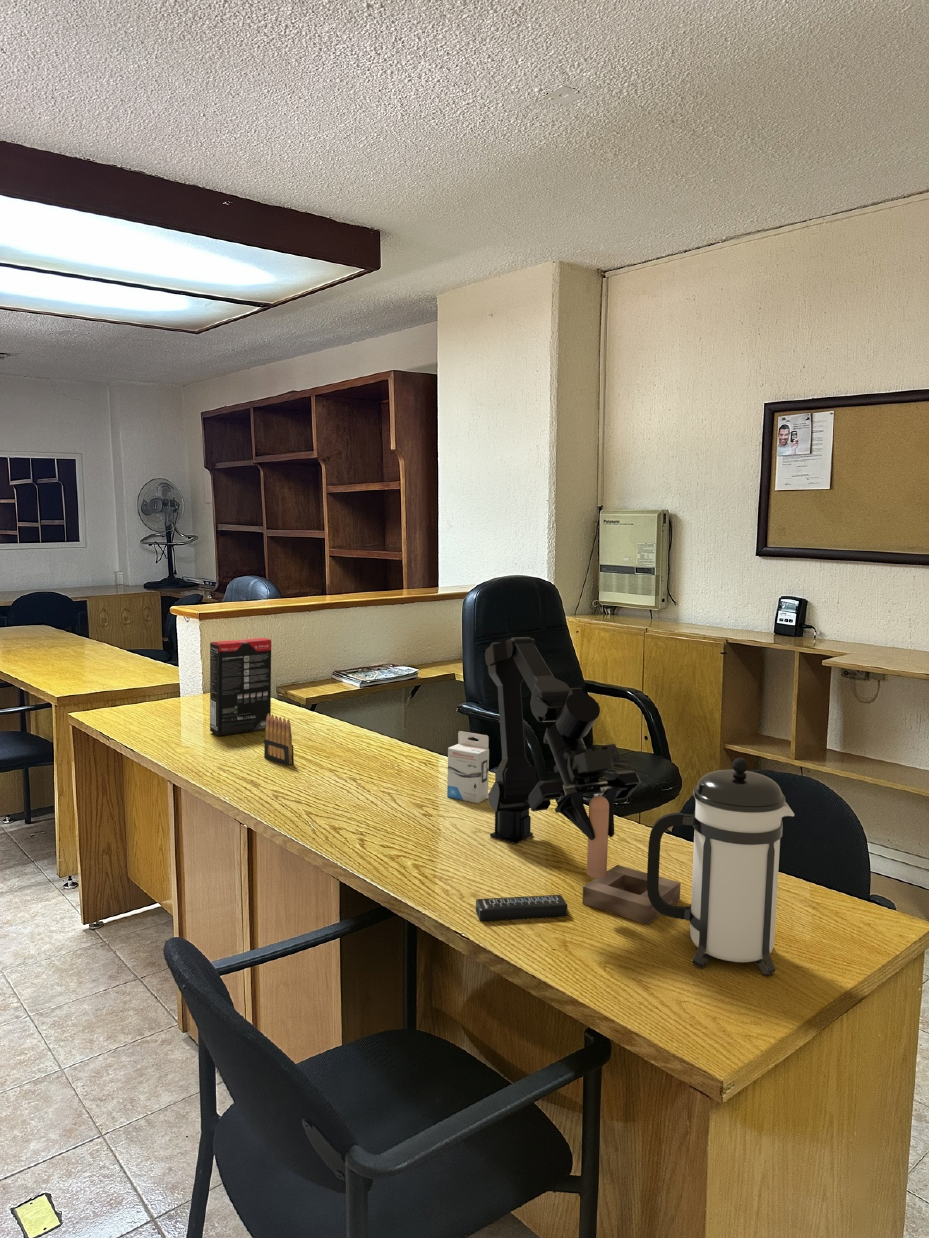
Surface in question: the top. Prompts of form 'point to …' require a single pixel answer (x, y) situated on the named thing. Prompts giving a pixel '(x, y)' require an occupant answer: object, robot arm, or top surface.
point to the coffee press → (729, 866)
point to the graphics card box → (240, 685)
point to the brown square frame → (628, 894)
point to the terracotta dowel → (598, 837)
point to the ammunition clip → (278, 741)
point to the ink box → (468, 768)
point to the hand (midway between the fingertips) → (602, 837)
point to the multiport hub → (521, 908)
